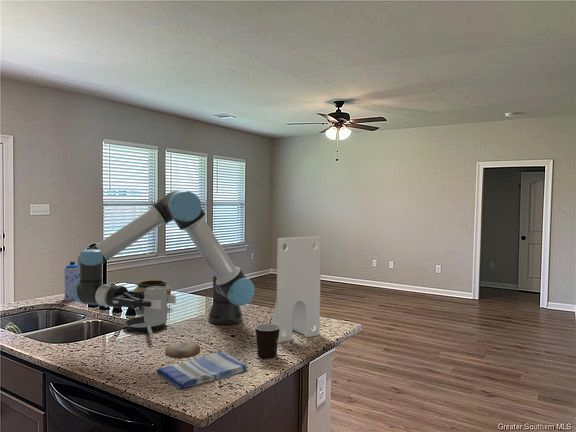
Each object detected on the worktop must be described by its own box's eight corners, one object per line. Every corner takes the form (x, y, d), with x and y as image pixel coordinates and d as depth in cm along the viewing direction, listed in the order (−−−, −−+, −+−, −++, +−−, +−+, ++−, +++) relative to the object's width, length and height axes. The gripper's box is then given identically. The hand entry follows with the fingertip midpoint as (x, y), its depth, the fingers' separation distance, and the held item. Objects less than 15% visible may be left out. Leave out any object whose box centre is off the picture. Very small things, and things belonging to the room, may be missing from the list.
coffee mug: (270, 361, 142) (270, 332, 142) (249, 356, 146) (250, 328, 146) (288, 351, 152) (289, 324, 151) (268, 347, 156) (269, 320, 156)
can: (145, 327, 137) (145, 290, 137) (142, 321, 144) (142, 286, 144) (169, 324, 141) (169, 288, 141) (164, 318, 148) (164, 284, 147)
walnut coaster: (199, 344, 158) (199, 341, 158) (201, 355, 147) (201, 352, 147) (165, 346, 155) (165, 343, 155) (165, 358, 144) (165, 355, 144)
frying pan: (165, 319, 191) (165, 311, 191) (175, 341, 161) (175, 332, 161) (122, 323, 184) (122, 315, 184) (125, 347, 154) (125, 337, 154)
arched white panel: (299, 325, 184) (301, 234, 183) (319, 334, 172) (321, 236, 171) (259, 332, 173) (260, 235, 172) (277, 342, 161) (278, 238, 160)
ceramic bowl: (133, 309, 218) (125, 281, 216) (166, 297, 227) (159, 270, 224) (144, 321, 197) (135, 291, 195) (180, 307, 206) (172, 278, 204)
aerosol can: (70, 296, 231) (70, 260, 231) (83, 297, 230) (83, 261, 230) (60, 300, 223) (60, 262, 223) (75, 300, 223) (74, 263, 222)
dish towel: (249, 372, 135) (249, 363, 134) (180, 393, 119) (181, 383, 119) (220, 356, 148) (220, 348, 148) (155, 373, 132) (155, 364, 132)
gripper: (132, 300, 158) (185, 306, 150) (90, 313, 139) (148, 321, 131) (132, 280, 158) (185, 285, 150) (90, 291, 139) (148, 297, 131)
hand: (167, 302), depth 141 cm, fingers closed on can, 7 cm apart
